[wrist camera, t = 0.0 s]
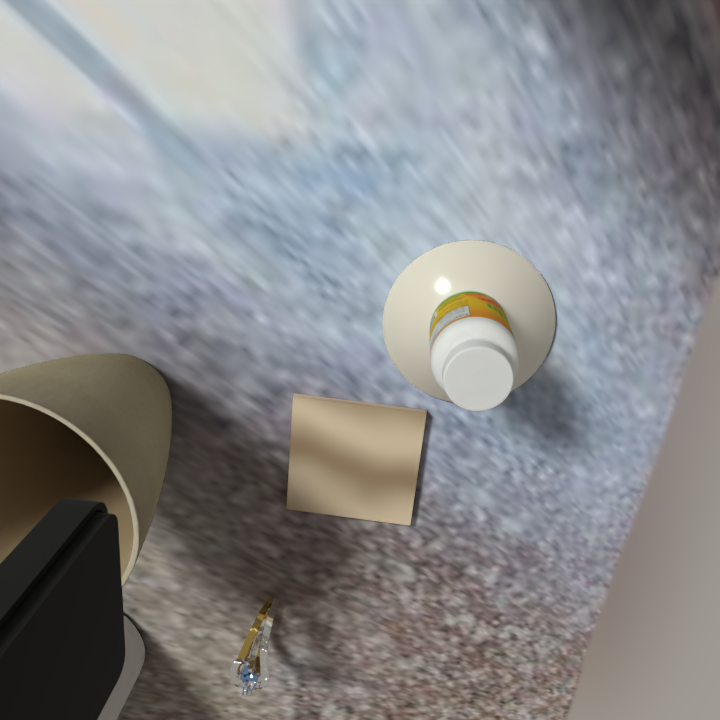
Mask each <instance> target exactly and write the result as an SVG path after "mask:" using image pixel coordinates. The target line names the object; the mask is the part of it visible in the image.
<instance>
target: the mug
mask: <svg viewBox="0 0 720 720" xmlns="http://www.w3.org/2000/svg"><path fill="white" fill-rule="evenodd" d="M123 616H124V634H125V661H124V666H123V669H122V672H121V675H120V677H119V680H118V682H117V684H116V685H115V687H114V689H113V691H112V693H111V695H110V697H109V699H108V700H107V702H106V704H105V706H104V708H103V710H102V712H101V714H100V715H99V717H98V719H97V720H117V718H118V716H119V714H120V712H121V710H122V708H123V706H124V704H125V702H126V700H127V698H128V696H129V694H130V692H131V690H132V688H133V686H134V684H135V682H136V680H137V678H138V676H139V674H140V671H141V669H142V666H143V664H144V660H145V647H144V643H143V640H142V638H141V636H140V634H139V632H138V631H137V629H136V627H135V626H134V625H133V624H132V622H131V621H130V620H129V619H128V618H127V617H126V616H125V615H123Z"/></svg>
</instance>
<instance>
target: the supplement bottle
mask: <svg viewBox="0 0 720 720" xmlns="http://www.w3.org/2000/svg"><path fill="white" fill-rule="evenodd" d="M429 333H430V334H429V336H430V364H431V369H432V373H433V376H434V378H435V380H436V382H437V383H438V385H439V386H440V387H441V388H442V389H443V390H444V391H445V392H446V393H447V395H448V397H449V398H450V399H451V400H452V401H453V402H454V403H455V404H456V405H458V406H459V407H461V408H464V409H466V410H470V411H485V410H489V409H492V408H494V407H496V406H498V405H499V404H501V403H502V402H503V401H504V400H505V399H506V398H507V397H508V395H509V393H510V392H511V389H512V387H513V382H514V379H515V377H516V375H517V372H518V368H519V362H520V356H519V350H518V346H517V343H516V340H515V338H514V335H513V333H512V330H511V328H510V325H509V322H508V320H507V317H506V314H505V312H504V310H503V308H502V307H501V305H500V304H499V303H498V302H497V301H496V300H495V299H494V298H492V297H491V296H489V295H487V294H485V293H482V292H479V291H473V290H468V291H461V292H457V293H454V294H452V295H450V296H448V297H447V298H445V299H444V300H443V301H442V302H441V303H440V304H439V305H438V306H437V308H436V309H435V311H434V313H433V315H432V317H431V321H430V329H429Z"/></svg>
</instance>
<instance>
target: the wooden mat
mask: <svg viewBox="0 0 720 720" xmlns="http://www.w3.org/2000/svg"><path fill="white" fill-rule="evenodd" d="M426 414H427V410H423V409H415V408H406V407H398V406H390V405H382V404H374V403H366V402H358V401H350V400H342V399H334V398H326V397H318V396H310V395H302V394H294V396H293V408H292V425H291V441H290V458H289V475H288V491H287V508H286V509H289V510H297V511H304V512H312V513H319V514H327V515H334V516H342V517H349V518H356V519H364V520H371V521H379V522H386V523H394V524H401V525H409V526H410V524H411V517H412V510H413V503H414V496H415V490H416V483H417V476H418V469H419V462H420V455H421V448H422V442H423V435H424V428H425V421H426Z"/></svg>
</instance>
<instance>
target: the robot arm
mask: <svg viewBox="0 0 720 720" xmlns="http://www.w3.org/2000/svg"><path fill="white" fill-rule="evenodd" d="M124 661H125V634H124V616H123V599H122V581H121V564H120V546H119V529H118V519H117V517H116V515H114V514H110V513H108V510H107V507H106V505H105V504H104V503H102V502H97V501H90V500H82V499H75V498H68V497H66V498H62V499H61V500H59V501H58V502H57V503H56V504H55V505H54V506H53V507H52V508H51V509H50V510H49V512H48V513H47V514H46V515H45V516H44V517H43V518H42V519H41V520H40V521H39V522H38V523H37V525H36V526H35V527H34V528H33V529H32V530H31V531H30V532H29V533H28V534H27V535H26V536H25V538H24V539H23V540H22V541H21V542H20V543H19V544H18V545H17V546H16V547H15V548H14V549H13V551H12V552H11V553H10V554H9V555H8V556H7V557H6V558H5V559H4V560H3V561H2V562H1V564H0V720H97V719H98V717H99V715H100V714H101V712H102V710H103V708H104V706H105V704H106V702H107V700H108V699H109V697H110V695H111V693H112V691H113V689H114V687H115V685H116V684H117V682H118V680H119V677H120V675H121V672H122V669H123V666H124Z"/></svg>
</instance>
